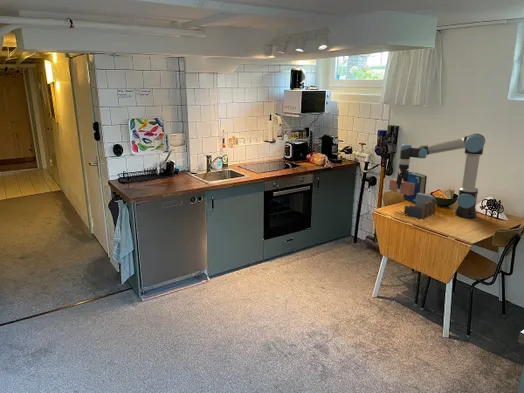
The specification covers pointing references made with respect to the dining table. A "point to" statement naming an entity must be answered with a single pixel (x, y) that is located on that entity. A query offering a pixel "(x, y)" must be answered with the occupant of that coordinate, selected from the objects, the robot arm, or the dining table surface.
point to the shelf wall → (428, 209)
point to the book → (416, 185)
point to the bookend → (413, 211)
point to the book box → (402, 187)
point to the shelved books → (423, 199)
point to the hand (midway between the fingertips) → (401, 191)
